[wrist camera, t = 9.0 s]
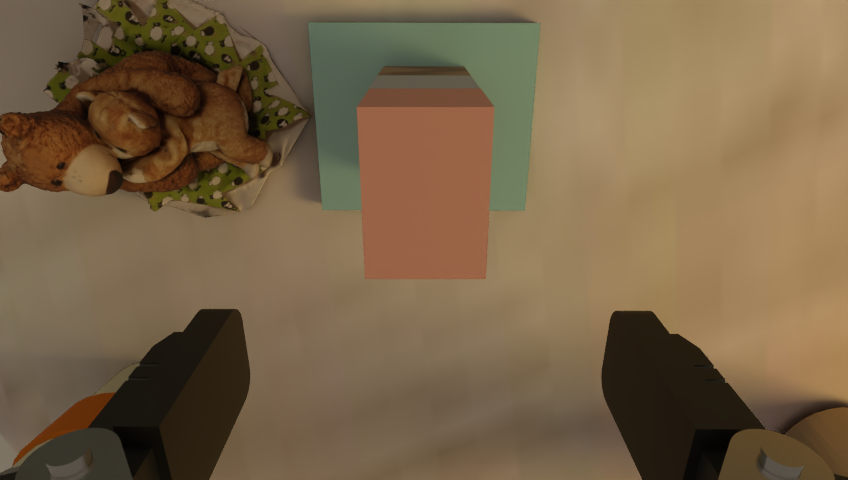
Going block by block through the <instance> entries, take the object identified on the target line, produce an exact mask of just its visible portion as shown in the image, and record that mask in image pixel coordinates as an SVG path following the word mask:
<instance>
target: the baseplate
mask: <svg viewBox="0 0 848 480" xmlns="http://www.w3.org/2000/svg"><path fill="white" fill-rule="evenodd" d="M308 30H309V43H310V56H311V69H312V82H313V95H314V108H315V121H316V134H317V147H318V160H319V173H320V186H321V199H322V210H362V205H361V184H360V164H359V144H358V124H357V106H358V105H359V103H360V102H361V100H362V99H363V97H364V96H365V94H366V93H367V91H368V90H369V86H370V85H371V84H372V82H373V81H374V79H375V78H376V77H377V75H378V74H379V72H380V71H381V70H382V68H383V67H384V66H464V67H465V68H466V69H467V71H468V72H469V74H470V75H471V76H472V78H473V79H474V81H475V82H476V83H477V85H478V86H479V87H480V88H481V89H482V91H483V92H484V93H485V95H486V96H487V97H488V99H489V100H490V102H491V103H492V104H493V106H494V107H495V108H494V127H493V147H492V166H491V186H490V205H489V210H510V211H525V204H526V192H527V179H528V167H529V155H530V143H531V131H532V119H533V107H534V95H535V83H536V70H537V58H538V46H539V34H540V23H431V22H309V23H308Z"/></svg>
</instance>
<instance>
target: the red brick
mask: <svg viewBox="0 0 848 480" xmlns="http://www.w3.org/2000/svg"><path fill="white" fill-rule="evenodd" d="M494 108H495V107H494V106H493V104H492V103H491V102H490V100H489V99H488V97H487V96H486V95H485V93H484V92H483V91H482V89H481V88H480V89H369V90H368V91H367V93H366V94H365V96H364V97H363V99H362V100H361V102H360V103H359V105H358V106H357V124H358V144H359V164H360V184H361V205H362V225H363V245H364V265H365V279H486V264H487V244H488V225H489V205H490V186H491V166H492V147H493V127H494Z"/></svg>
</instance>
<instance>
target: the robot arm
mask: <svg viewBox="0 0 848 480" xmlns="http://www.w3.org/2000/svg"><path fill="white" fill-rule="evenodd" d="M249 384H250V367H249V361H248V354H247V348H246V341H245V335H244V328H243V322H242V317H241V314H240V312H239V310H237V309H201V310H200V311H199V312H198V313H197V314H196V315H195V317H194V318H193V319H192V321H191V322H190V323H189V325H188V326H187V327H186V329H185V330H184V331H183V332H174V333H172V334H171V335H169V336H168V337H166V338H165V339H163V340H162V341H160V342H159V343H157V344H156V345H154V346H153V347H152V348H151V349H150V351H149V352H148V353H147V354H146V356H145V357H144V358H143V359H142V361H141V362H140V365H139V366H137V367H136V368H135V369H134V370H133V372H132V373H131V374H130V375H129V377H128V381H125V382H124V383H123V384H122V385H121V387H120V388H119V389H118V390H117V392H116V393H115V394H114V395H113V397H112V398H111V399H110V400H109V402H108V403H107V404H106V405H105V406H104V408H103V409H102V410H101V411H100V413H99V414H98V415H97V416H96V418H95V419H94V420H93V421H92V423H91V424H90V425H89V426H88V428H86V429H80V430H76V431H72V432H69V433H66V434H64V435H61V436H59V437H56V438H54V439H53V440H51V441H49V442H47V443H45V444H44V445H42V446H41V447H39V448H38V449H37V450H35V451H34V452H33V453H32V454H31V455H30V456H28V457H27V458H26V459H25V461H24V462H23V463H22V464H21V466H20V467H19V469H18V471H17V472H13V473H9V474H5V475H0V480H209V479H210V477H211V474H212V472H213V470H214V468H215V466H216V463H217V461H218V459H219V457H220V455H221V452H222V450H223V448H224V446H225V444H226V442H227V439H228V437H229V435H230V433H231V431H232V428H233V426H234V424H235V422H236V420H237V417H238V415H239V413H240V411H241V409H242V406H243V404H244V402H245V400H246V397H247V394H248V390H249ZM602 389H603V394H604V397H605V400H606V403H607V405H608V407H609V409H610V411H611V413H612V415H613V418H614V420H615V422H616V424H617V426H618V428H619V430H620V433H621V435H622V437H623V439H624V441H625V443H626V445H627V448H628V450H629V452H630V454H631V456H632V458H633V460H634V463H635V465H636V467H637V469H638V471H639V473H640V475H641V478H642V480H848V407H840V408H833V409H827V410H824V411H821V412H817V413H815V414H813V415H811V416H808V417H806V418H804V419H803V420H801V421H800V422H798V423H797V424H795V425H794V426H793V427H792V428H791V429H790V430H788V431H787V432H786V433H785V435H784V434H780V433H777V432H774V431H769V430H766V429H765V428H764V427H763V425H762V424H761V423H760V422H759V420H758V419H757V418H756V417H755V416H754V414H753V413H752V412H751V411H750V409H749V408H748V407H747V406H746V405H745V403H744V402H743V401H742V400H741V398H740V397H739V396H738V395H737V394H736V392H735V391H734V390H733V389H732V387H731V386H730V385H729V384H728V383H725V379H724V378H723V376H722V375H721V374H720V373H719V371H718V370H717V369H714V368H713V364H712V363H711V362H710V360H709V359H708V358H707V357H706V356H705V354H704V353H703V352H702V351H701V349H700V348H698V347H697V346H695V345H694V344H692V343H691V342H689V341H688V340H686V339H685V338H683V337H682V336H680V335H679V334H669V332H668V331H667V330H666V328H665V327H664V326H663V324H662V323H661V322H660V320H659V319H658V318H657V316H656V315H655V314H654V313H653V312H652V311H615V312H613V314H612V316H611V319H610V324H609V330H608V336H607V342H606V348H605V354H604V360H603V366H602Z"/></svg>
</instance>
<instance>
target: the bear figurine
mask: <svg viewBox="0 0 848 480" xmlns="http://www.w3.org/2000/svg"><path fill="white" fill-rule="evenodd" d="M79 5H80V6H81V7H82V8H83V21H84V37H83V38H84V41H83V45H82V51H80V52H79V54H78V56H77V57H78V58H79V59H78V60H75V61H73V62H70V63H63V62H58V63H59V65H56V64H55V65H56V66H57V68H55V69H58V70H57V71H58V73H57V74H56V75H55V76H54V77H53V78H52V79H51V80H50V81H49V82H48V83H47V87H46V89H45V90H44V92H45V93H46V94H48V95H49V96H50V97H51V98H52V99H53V100H55V101H56V102H58V103H59V105H58V106H57V107H56V108H54V109H53V110H50V111H45V112H35V113H29V114H26V113H23V114H22V113H20V112H18V113H13V112H10V113H6V114H2V115H1V116H0V133H1V134H2V141H1V145H2V148H3V153H4V155H5V157H6V159H7V162H5V163H4V164H3V165H2V167H1V168H0V190H2V191H4V192H10V191H14V190H16V189H18V188H19V187H20V186H21V185H22V184H24V183H25V184H29V185H31V186H34V187H37V188H39V189H42V190H45V191H46V190H49V191H51V192H60V191H73V192H75V193H78V194H81V195H86V196H102V195H106V194H112V193H114V192H116V191H117V190H118V189H123V190H125V191H129V192H135V193H136V194H137V195H139V196H140V197H142V198H143V199H145V200H147V201H148V202H149V204H150V209H152V210H153V211H157V210H159V209H160V208H161V207H162V206H163V205H166V206H173V207H176V208H179V209H181V210H184V211H187V212H190V213H193V214H196V215H199V216H202V217H213V216H220V215H227V214H234V213H240V212H241V210H246V209H251V207H252V205H253V203H254V201H255V199H256V197H257V196H258V194H259V192H260V190H261V188H262V186H263V185H264V183H265V181H266V179H267V177H268V175H269V174H270V173H271V172H272V171H273V170H275V169H277V168H278V167H281V166H282V164H283V163H284V161H285V159H286V158H287V156H288V154H289V152H290V151H291V149H292V147H293V146H294V144H295V142H296V140H297V139H298V137H299V135H300V134H301V132H302V130H303V128H304V127H305V125H306V123H307V122H308V120H309V118H310V116H312V115H313V114H314V113H309V112H308V111H307V110H306V109H305V108H304V107H303V106H302V105H301V103H300V100H299V99H298V97H297V96H296V94H295V93H294V92H293V90H292V89H291V87H290V86H289V85H288V83H287V82H286V80H285V79H284V78H283V76H282V75H281V73H280V72H279V71H278V69H277V68H276V66H275V65H274V64H273V62H272V61H271V58H270V55H269V52H268V49H267V47H266V46H265V45H264V44H262V43H261V42H260V41H258V40H257V39H256V38H255V39H256V40H255V39H253V38H254V37H253V36H252V35H251V34H250V35H251V36H252V37H253V38H250V37H245V36H241V35H239V34H238V33H237V32H236V31H235V30H233V29H232V28H231V27H230V26H229V25H228V24H227V22H226V20H225V19H224V15H223V14H221V13H220V12H217V11H214V10H211V9H208V8H205V7H203V6H201V5H199V4H197V3H195V2H193V1H190V0H98V2H97V3H96V4H95V6H94V7H93V8H91V7H89V6H86V5H83V4H80V3H79ZM99 23H101V24H102V25H103V29H101V31H100V34H99V37H98V40H97V43H94V42H93V41H90V40H91V38H92V36H93V35H94V33H95V31H96V29H97V27H98V25H99ZM242 29H243V28H242ZM243 30H244V29H243ZM246 32H247V31H246ZM247 33H248V32H247ZM248 34H249V33H248ZM85 57H87V58H88V59H87V60H86V61H83V62H80V58H85ZM259 60H262V61H261V62H260V61H259Z"/></svg>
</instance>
